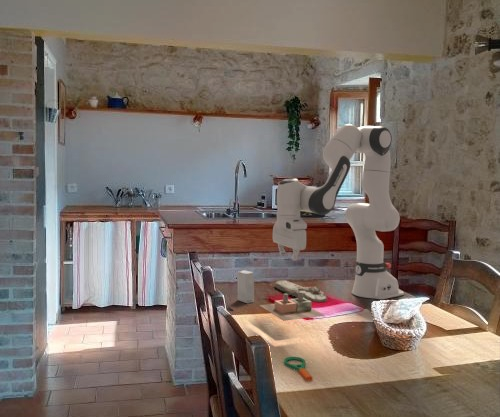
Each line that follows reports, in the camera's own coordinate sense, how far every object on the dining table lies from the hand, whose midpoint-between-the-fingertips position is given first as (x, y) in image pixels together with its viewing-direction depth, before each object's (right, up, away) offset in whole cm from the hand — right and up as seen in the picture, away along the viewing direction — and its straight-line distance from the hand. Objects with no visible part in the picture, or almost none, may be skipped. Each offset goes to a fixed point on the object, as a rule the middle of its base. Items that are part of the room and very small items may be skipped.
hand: (288, 257), depth 202 cm
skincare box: (-16, -19, +13) cm, 28 cm away
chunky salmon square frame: (-1, -19, -3) cm, 19 cm away
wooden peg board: (+1, -21, -3) cm, 21 cm away
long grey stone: (+6, -19, +24) cm, 31 cm away
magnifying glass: (-1, -27, -54) cm, 60 cm away
